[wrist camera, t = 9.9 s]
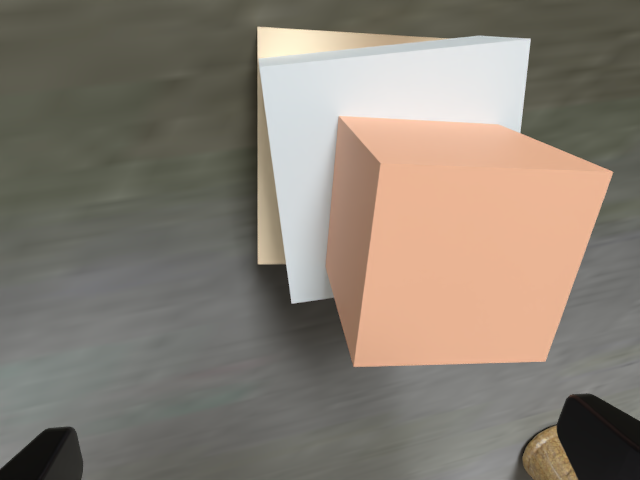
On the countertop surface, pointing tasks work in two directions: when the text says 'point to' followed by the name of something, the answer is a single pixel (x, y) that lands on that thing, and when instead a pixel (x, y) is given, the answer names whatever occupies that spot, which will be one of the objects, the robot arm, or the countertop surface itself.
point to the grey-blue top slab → (374, 102)
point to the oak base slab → (268, 45)
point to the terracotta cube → (454, 240)
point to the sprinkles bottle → (547, 458)
